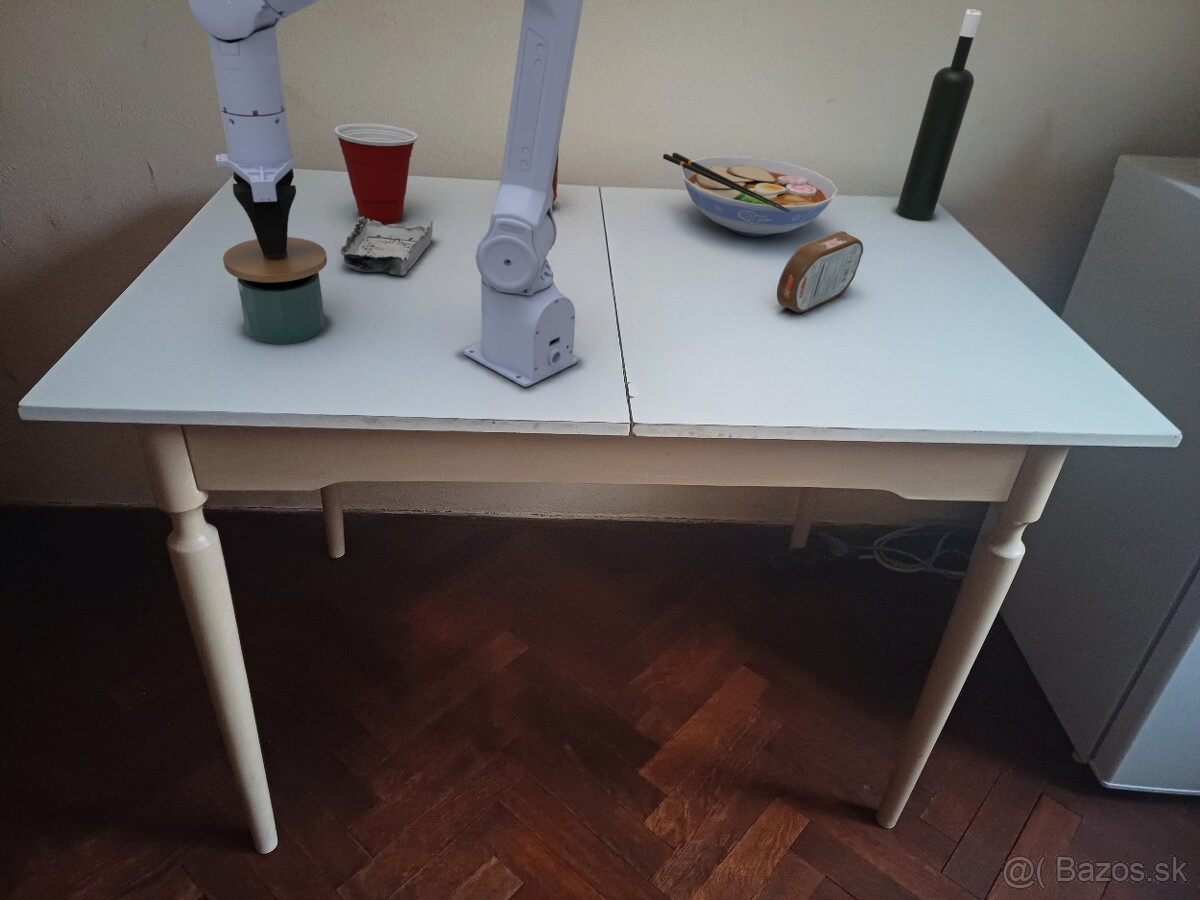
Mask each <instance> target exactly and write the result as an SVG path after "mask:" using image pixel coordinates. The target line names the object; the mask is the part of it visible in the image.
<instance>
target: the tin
mask: <svg viewBox="0 0 1200 900" xmlns="http://www.w3.org/2000/svg"><path fill="white" fill-rule="evenodd" d="M863 254H864V245H863V242H862V241H861V239H859V238H857V237H855V236H853V235H851V234H850V233H849V234H848V233H847V232H846V231H844V230H840V231H836V232H834V233H831V234H829V235H826V236H824V237H820V238H817V239H814V240H812V241H809V242H806V243H804V244H802V245H801V246H800V247H799V248H797V249H796V251H795V252H794V253H793V254H792V256H791V257H790V258H789V260H787V263H786V265H785V266H784V268H783V269H782V273H781V274H780V277H779V280H778V284H777V287H776V301H777V303H778V304H779V305H780V306H782V307H785V308H787V309H788V310H791V311H792V312H795V313H798V314H799V313H800V314H801V313H806V312H808V311H810V310H812V309H814V308H817V307H819V306H821V305H823V304H826V303H827V302H830V301H832V300H834V299H836V298H838V297H840V296H841V295H842V294H844V292H845V291H846V290H847V289H848V288H849V286H850V285H851V283H852V282H853V280H854V278H855V276H856V273H857V271H858V267H859V265H860V262H861V260H862V256H863Z"/></svg>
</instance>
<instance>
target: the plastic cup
mask: <svg viewBox="0 0 1200 900" xmlns="http://www.w3.org/2000/svg"><path fill="white" fill-rule="evenodd" d="M333 132H334V134H335V136H336V137H337V139H338V141H339V146H340V148H341V153H342V155H343V159H344V163H345V166H346V171H347V175H348V179H349V183H350V186H351V191H352V194H353V197H354V199H355V204H356V208H357V213H358V214H359V218H360V217H362V216H363V217H364V220H366V219H369V220H370V222H371V221H372V220H374V221H378V222H380V223H381V224H382V225H390V224H396V223H398V222H399V221H402V217H403V214H404V207H405V198H406V197H405V196H406V194H407V187H408V180H409V179H408V178H409V170H410V169H409V168H410V164H411V163H410V161H411V157H412V152H413V149H414V144H415V143H416V141H417V140H418V138H419V135H418V134H417V133H416V132H414V131H412V130H410V129H407V128H404V127H399V126H394V125H387V124H380V123H363V122H361V123H347V124H343V125H342V124H341V125H337V126H336V127H335V128H334V129H333Z"/></svg>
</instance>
